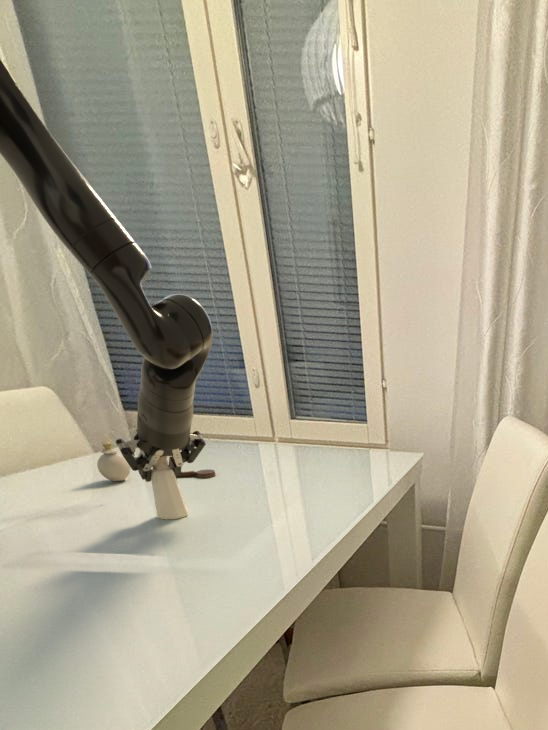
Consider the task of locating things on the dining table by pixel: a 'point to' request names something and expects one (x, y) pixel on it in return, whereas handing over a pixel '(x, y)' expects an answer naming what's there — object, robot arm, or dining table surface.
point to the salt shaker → (167, 491)
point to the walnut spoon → (198, 473)
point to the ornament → (112, 463)
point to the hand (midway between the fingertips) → (159, 475)
